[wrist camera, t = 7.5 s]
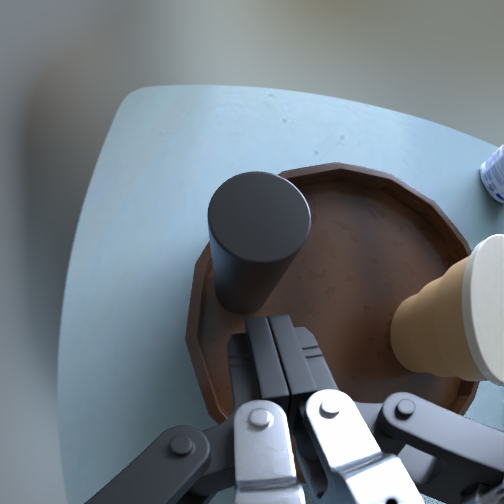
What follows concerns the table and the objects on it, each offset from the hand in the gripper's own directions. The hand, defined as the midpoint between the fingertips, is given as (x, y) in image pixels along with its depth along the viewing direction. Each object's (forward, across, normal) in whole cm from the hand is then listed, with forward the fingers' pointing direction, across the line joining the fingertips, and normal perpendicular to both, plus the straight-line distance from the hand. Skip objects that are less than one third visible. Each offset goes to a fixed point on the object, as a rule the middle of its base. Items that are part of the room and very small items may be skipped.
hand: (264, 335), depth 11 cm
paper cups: (+3, -11, +5) cm, 13 cm away
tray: (+5, -7, +4) cm, 9 cm away
